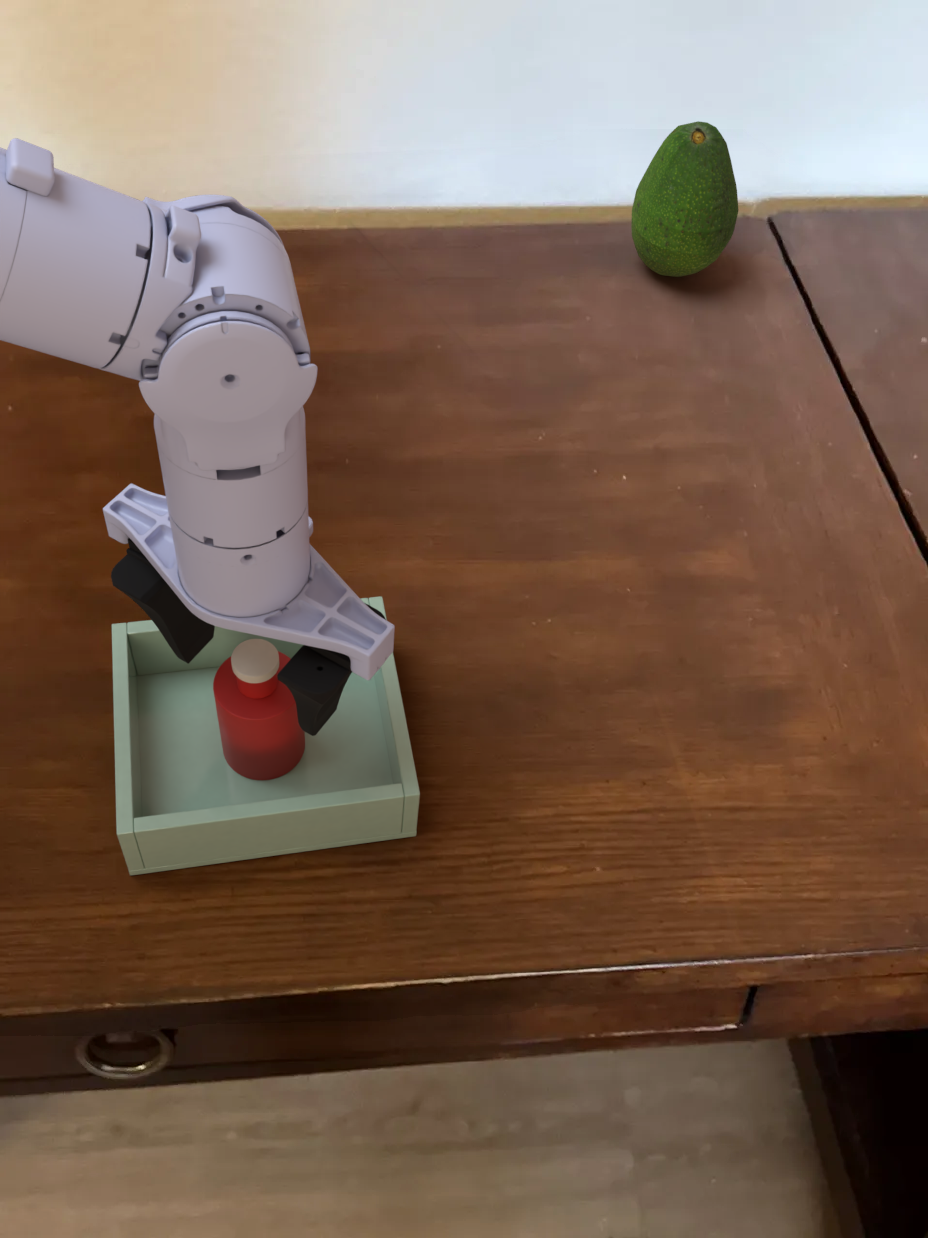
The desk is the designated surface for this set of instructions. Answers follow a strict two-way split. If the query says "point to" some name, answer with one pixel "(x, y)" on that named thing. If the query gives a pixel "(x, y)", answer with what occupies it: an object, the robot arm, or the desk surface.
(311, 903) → the desk surface
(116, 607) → the desk surface
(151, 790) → the tray
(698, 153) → the fruit
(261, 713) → the bottle
